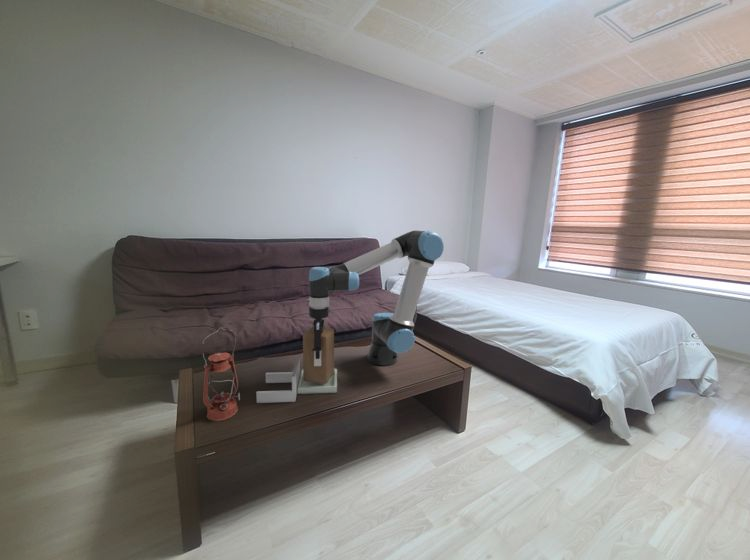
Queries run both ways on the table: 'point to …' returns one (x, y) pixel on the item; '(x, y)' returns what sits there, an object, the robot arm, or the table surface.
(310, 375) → the wooden block
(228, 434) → the table surface
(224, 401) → the lantern
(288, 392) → the dock
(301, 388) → the tray
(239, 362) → the table surface
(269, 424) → the table surface
